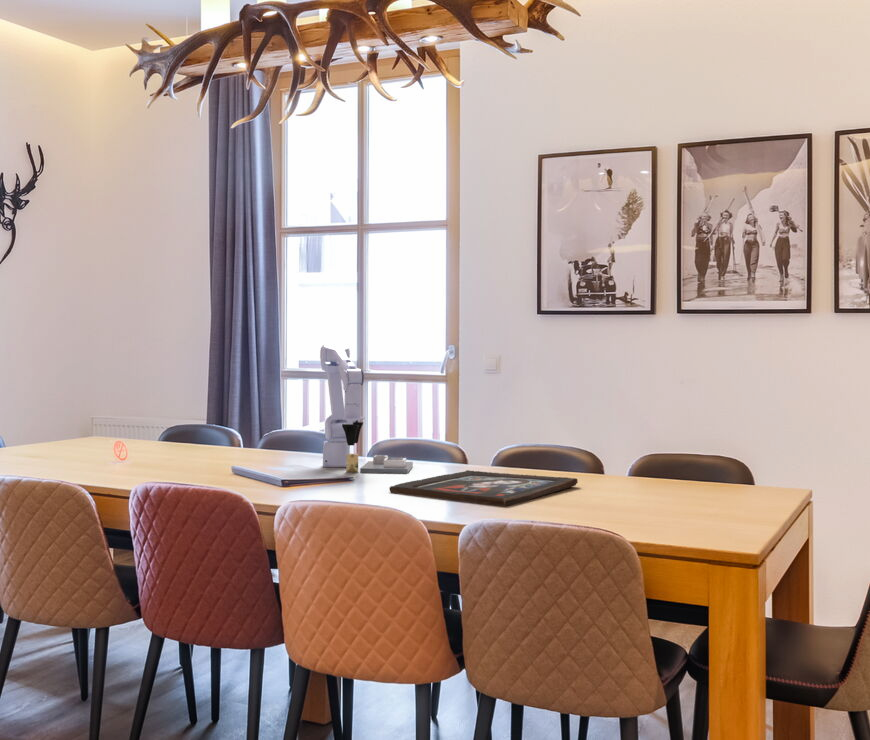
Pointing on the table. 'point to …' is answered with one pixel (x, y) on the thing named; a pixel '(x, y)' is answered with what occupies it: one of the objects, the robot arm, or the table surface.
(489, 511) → the table surface
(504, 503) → the religious icon
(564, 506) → the table surface
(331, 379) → the robot arm
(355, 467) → the pipe stub
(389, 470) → the socket plate
